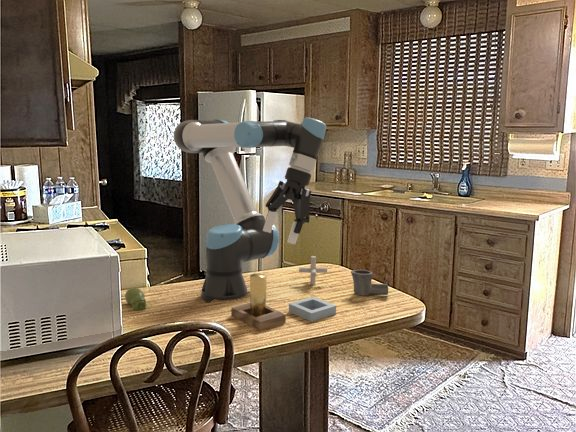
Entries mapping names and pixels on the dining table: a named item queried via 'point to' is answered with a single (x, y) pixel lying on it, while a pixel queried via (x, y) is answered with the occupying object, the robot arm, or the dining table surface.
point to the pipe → (367, 284)
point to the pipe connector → (313, 270)
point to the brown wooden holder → (260, 322)
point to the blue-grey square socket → (312, 309)
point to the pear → (136, 299)
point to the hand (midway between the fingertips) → (278, 237)
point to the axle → (257, 294)
